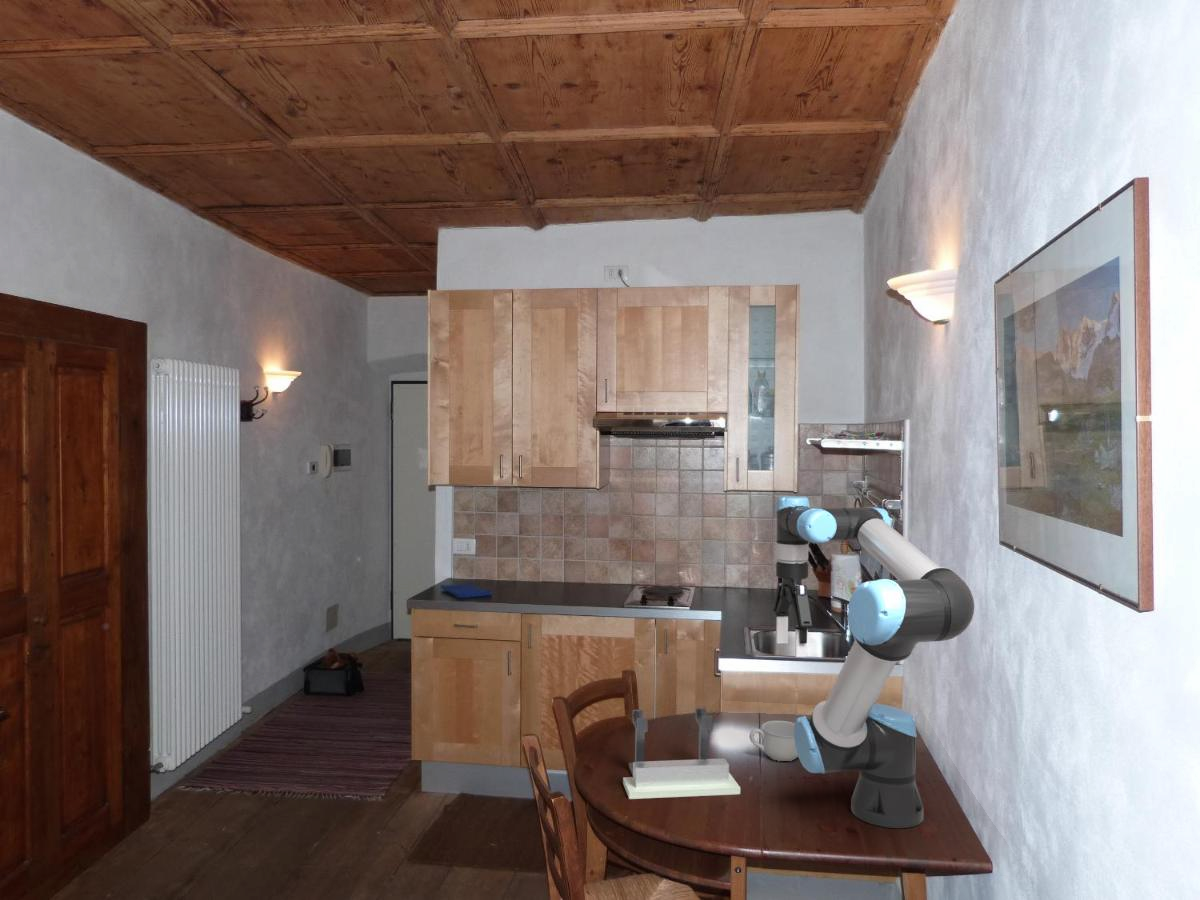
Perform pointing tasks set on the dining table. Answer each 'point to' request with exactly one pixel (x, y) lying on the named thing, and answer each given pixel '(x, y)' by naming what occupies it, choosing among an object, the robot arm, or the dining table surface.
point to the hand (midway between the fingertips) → (791, 649)
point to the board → (680, 790)
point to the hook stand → (642, 727)
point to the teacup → (777, 740)
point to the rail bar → (680, 772)
